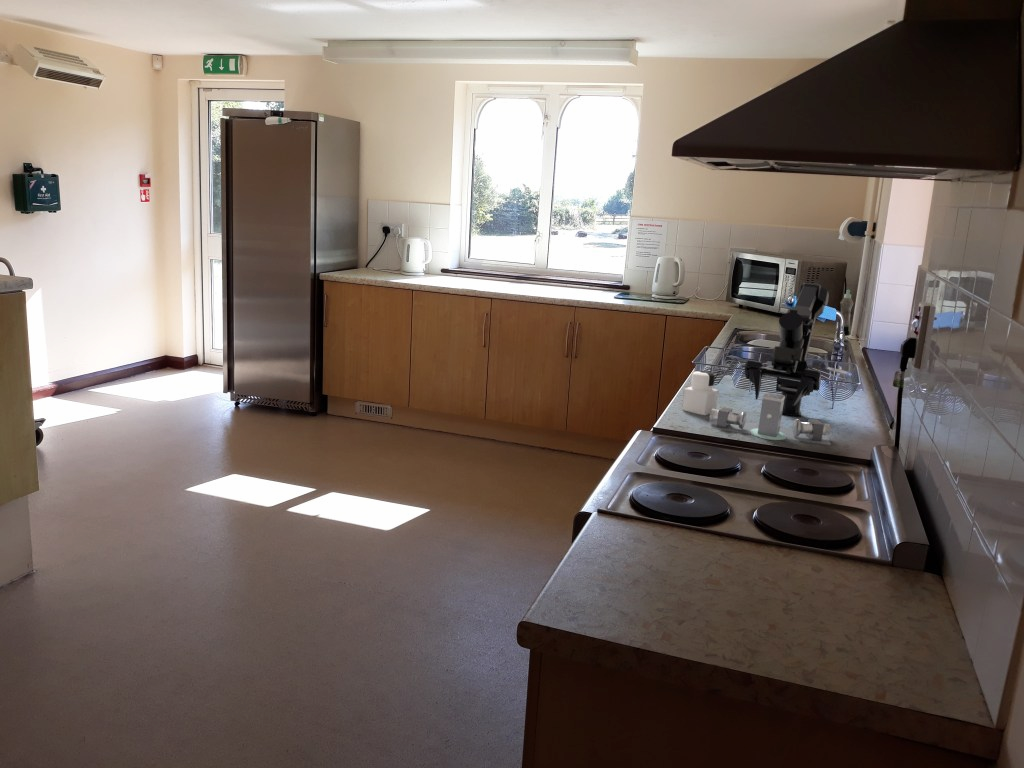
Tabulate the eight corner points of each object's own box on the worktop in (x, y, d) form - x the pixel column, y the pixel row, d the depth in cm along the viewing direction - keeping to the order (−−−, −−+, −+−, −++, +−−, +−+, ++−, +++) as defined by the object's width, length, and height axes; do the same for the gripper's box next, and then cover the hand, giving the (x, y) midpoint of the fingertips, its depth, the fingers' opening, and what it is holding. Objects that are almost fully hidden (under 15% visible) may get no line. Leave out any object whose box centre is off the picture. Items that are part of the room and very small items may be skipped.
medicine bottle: (692, 409, 233) (698, 367, 230) (715, 414, 229) (721, 372, 226) (680, 413, 228) (686, 371, 225) (704, 418, 223) (709, 376, 221)
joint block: (761, 429, 212) (766, 392, 210) (779, 433, 210) (785, 395, 208) (757, 434, 207) (762, 395, 205) (775, 437, 205) (781, 399, 203)
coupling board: (708, 421, 221) (709, 416, 221) (825, 436, 214) (826, 432, 214) (707, 434, 208) (707, 429, 208) (831, 452, 201) (832, 447, 201)
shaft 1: (744, 427, 213) (747, 410, 212) (740, 431, 210) (742, 414, 208) (712, 421, 217) (715, 404, 216) (707, 425, 214) (709, 407, 212)
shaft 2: (796, 439, 206) (799, 421, 205) (790, 434, 211) (793, 416, 210) (830, 441, 206) (833, 424, 205) (823, 436, 211) (826, 419, 210)
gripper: (751, 329, 214) (735, 378, 207) (826, 339, 205) (812, 391, 199) (753, 354, 222) (738, 401, 216) (825, 365, 214) (812, 415, 207)
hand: (774, 401), depth 209 cm, fingers open, 9 cm apart
